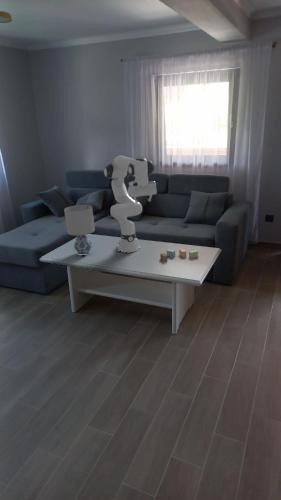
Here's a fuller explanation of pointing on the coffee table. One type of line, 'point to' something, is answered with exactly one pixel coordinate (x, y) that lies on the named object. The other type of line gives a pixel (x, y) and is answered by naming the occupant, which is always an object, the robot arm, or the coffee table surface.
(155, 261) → the coffee table surface
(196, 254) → the olive brick
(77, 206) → the lamp
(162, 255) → the walnut brick
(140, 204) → the robot arm
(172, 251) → the slate blue brick
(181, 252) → the terracotta brick
